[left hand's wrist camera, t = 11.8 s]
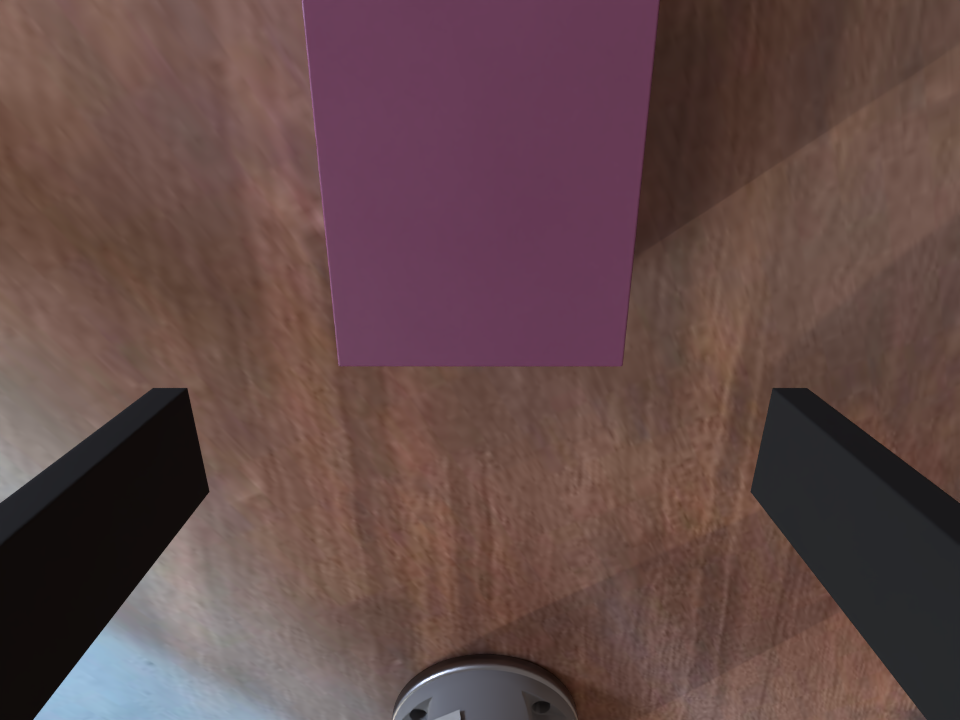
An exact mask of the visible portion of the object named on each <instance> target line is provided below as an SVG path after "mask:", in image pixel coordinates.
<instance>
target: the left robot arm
mask: <svg viewBox="0 0 960 720" xmlns="http://www.w3.org/2000/svg"><path fill="white" fill-rule="evenodd" d="M208 493H209V487H208V483H207V478H206V473H205V469H204V464H203V459H202V455H201V450H200V445H199V441H198V436H197V431H196V427H195V422H194V417H193V413H192V408H191V403H190V399H189V394H188V389H187V388H153V389H151V390H150V391H149V392H147V393H146V394H145V395H143V396H142V397H141V398H139V399H138V400H137V401H135V402H134V403H133V404H131V405H130V406H129V407H127V408H126V409H125V410H123V411H122V412H121V413H119V414H118V415H117V416H115V417H114V418H113V419H111V420H110V421H109V422H107V423H106V424H105V425H103V426H102V427H101V428H99V429H98V430H97V431H96V432H94V433H93V434H92V435H90V436H89V437H88V438H86V439H85V440H84V441H82V442H81V443H80V444H78V445H77V446H76V447H74V448H73V449H72V450H70V451H69V452H68V453H66V454H65V455H64V456H62V457H61V458H60V459H58V460H57V461H56V462H54V463H53V464H52V465H50V466H49V467H48V468H46V469H45V470H44V471H42V472H41V473H40V474H38V475H37V476H36V477H34V478H33V479H32V480H30V481H29V482H28V483H27V484H25V485H24V486H23V487H21V488H20V489H19V490H17V491H16V492H15V493H13V494H12V495H11V496H9V497H8V498H7V499H5V500H4V501H3V502H1V503H0V720H33V719H34V718H35V717H36V715H37V714H38V713H39V711H40V710H41V709H42V708H43V706H44V705H45V704H46V702H47V701H48V700H49V699H50V697H51V696H52V695H53V693H54V692H55V691H56V689H57V688H58V687H59V686H60V684H61V683H62V682H63V680H64V679H65V678H66V677H67V675H68V674H69V673H70V671H71V670H72V669H73V667H74V666H75V665H76V664H77V662H78V661H79V660H80V658H81V657H82V656H83V655H84V653H85V652H86V651H87V649H88V648H89V647H90V645H91V644H92V643H93V642H94V640H95V639H96V638H97V636H98V635H99V634H100V633H101V631H102V630H103V629H104V627H105V626H106V625H107V623H108V622H109V621H110V620H111V618H112V617H113V616H114V614H115V613H116V612H117V611H118V609H119V608H120V607H121V605H122V604H123V603H124V602H125V600H126V599H127V598H128V596H129V595H130V594H131V592H132V591H133V590H134V589H135V587H136V586H137V585H138V583H139V582H140V581H141V580H142V578H143V577H144V576H145V574H146V573H147V572H148V570H149V569H150V568H151V567H152V565H153V564H154V563H155V561H156V560H157V559H158V558H159V556H160V555H161V554H162V552H163V551H164V550H165V548H166V547H167V546H168V545H169V543H170V542H171V541H172V539H173V538H174V537H175V536H176V534H177V533H178V532H179V530H180V529H181V528H182V526H183V525H184V524H185V523H186V521H187V520H188V519H189V517H190V516H191V515H192V514H193V512H194V511H195V510H196V508H197V507H198V506H199V505H200V503H201V502H202V501H203V499H204V498H205V497H206V495H207V494H208ZM751 493H752V494H753V495H754V497H755V498H756V499H757V501H758V502H759V503H760V505H761V506H762V507H763V508H764V510H765V511H766V512H767V514H768V515H769V516H770V517H771V519H772V520H773V521H774V523H775V524H776V525H777V526H778V528H779V529H780V530H781V532H782V533H783V534H784V536H785V537H786V538H787V539H788V541H789V542H790V543H791V545H792V546H793V547H794V548H795V550H796V551H797V552H798V554H799V555H800V556H801V558H802V559H803V560H804V561H805V563H806V564H807V565H808V567H809V568H810V569H811V570H812V572H813V573H814V574H815V576H816V577H817V578H818V580H819V581H820V582H821V583H822V585H823V586H824V587H825V589H826V590H827V591H828V592H829V594H830V595H831V596H832V598H833V599H834V600H835V602H836V603H837V604H838V605H839V607H840V608H841V609H842V611H843V612H844V613H845V614H846V616H847V617H848V618H849V620H850V621H851V622H852V623H853V625H854V626H855V627H856V629H857V630H858V631H859V633H860V634H861V635H862V636H863V638H864V639H865V640H866V642H867V643H868V644H869V645H870V647H871V648H872V649H873V651H874V652H875V653H876V655H877V656H878V657H879V658H880V660H881V661H882V662H883V664H884V665H885V666H886V667H887V669H888V670H889V671H890V673H891V674H892V675H893V677H894V678H895V679H896V680H897V682H898V683H899V684H900V686H901V687H902V688H903V689H904V691H905V692H906V693H907V695H908V696H909V697H910V699H911V700H912V701H913V702H914V704H915V705H916V706H917V708H918V709H919V710H920V711H921V713H922V714H923V715H924V717H925V718H926V719H927V720H960V503H959V502H957V501H956V500H955V499H953V498H952V497H951V496H949V495H948V494H947V493H945V492H944V491H943V490H941V489H940V488H939V487H937V486H936V485H935V484H933V483H932V482H931V481H930V480H928V479H927V478H926V477H924V476H923V475H922V474H920V473H919V472H918V471H916V470H915V469H914V468H912V467H911V466H910V465H908V464H907V463H906V462H904V461H903V460H902V459H900V458H899V457H898V456H896V455H895V454H894V453H892V452H891V451H890V450H888V449H887V448H886V447H884V446H883V445H882V444H880V443H879V442H878V441H876V440H875V439H874V438H872V437H871V436H870V435H868V434H867V433H866V432H864V431H863V430H862V429H861V428H859V427H858V426H857V425H855V424H854V423H853V422H851V421H850V420H849V419H847V418H846V417H845V416H843V415H842V414H841V413H839V412H838V411H837V410H835V409H834V408H833V407H831V406H830V405H829V404H827V403H826V402H825V401H823V400H822V399H821V398H819V397H818V396H817V395H815V394H814V393H813V392H811V391H810V390H809V389H807V388H773V389H772V394H771V399H770V403H769V408H768V413H767V417H766V422H765V427H764V431H763V436H762V441H761V445H760V450H759V455H758V459H757V464H756V469H755V473H754V478H753V483H752V487H751ZM392 720H578V716H577V710H576V706H575V703H574V700H573V698H572V696H571V694H570V692H569V691H568V689H567V688H566V687H565V685H564V684H563V683H562V682H561V681H560V680H559V679H558V678H556V677H555V676H554V675H553V674H551V673H550V672H548V671H547V670H545V669H543V668H541V667H540V666H538V665H535V664H533V663H531V662H528V661H525V660H522V659H518V658H515V657H509V656H504V655H494V654H476V655H467V656H461V657H456V658H452V659H448V660H445V661H443V662H440V663H437V664H435V665H433V666H431V667H429V668H427V669H425V670H424V671H422V672H421V673H419V674H418V675H416V676H415V677H414V678H413V679H412V680H411V681H410V682H409V683H408V684H407V685H406V686H405V687H404V688H403V690H402V691H401V693H400V694H399V696H398V698H397V701H396V703H395V706H394V711H393V718H392Z"/></svg>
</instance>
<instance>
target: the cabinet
mask: <svg viewBox="0 0 960 720" xmlns="http://www.w3.org/2000/svg"><path fill="white" fill-rule="evenodd" d="M659 5H660V0H302V7H303V17H304V27H305V37H306V47H307V57H308V67H309V77H310V87H311V97H312V107H313V116H314V126H315V136H316V146H317V156H318V166H319V176H320V186H321V196H322V206H323V215H324V225H325V235H326V245H327V255H328V265H329V275H330V285H331V295H332V305H333V315H334V324H335V334H336V344H337V354H338V364H339V366H622V365H623V357H624V347H625V337H626V327H627V318H628V308H629V298H630V288H631V279H632V269H633V259H634V249H635V240H636V230H637V220H638V210H639V201H640V191H641V181H642V171H643V162H644V152H645V142H646V132H647V123H648V113H649V103H650V93H651V83H652V74H653V64H654V54H655V44H656V35H657V25H658V15H659Z"/></svg>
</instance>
